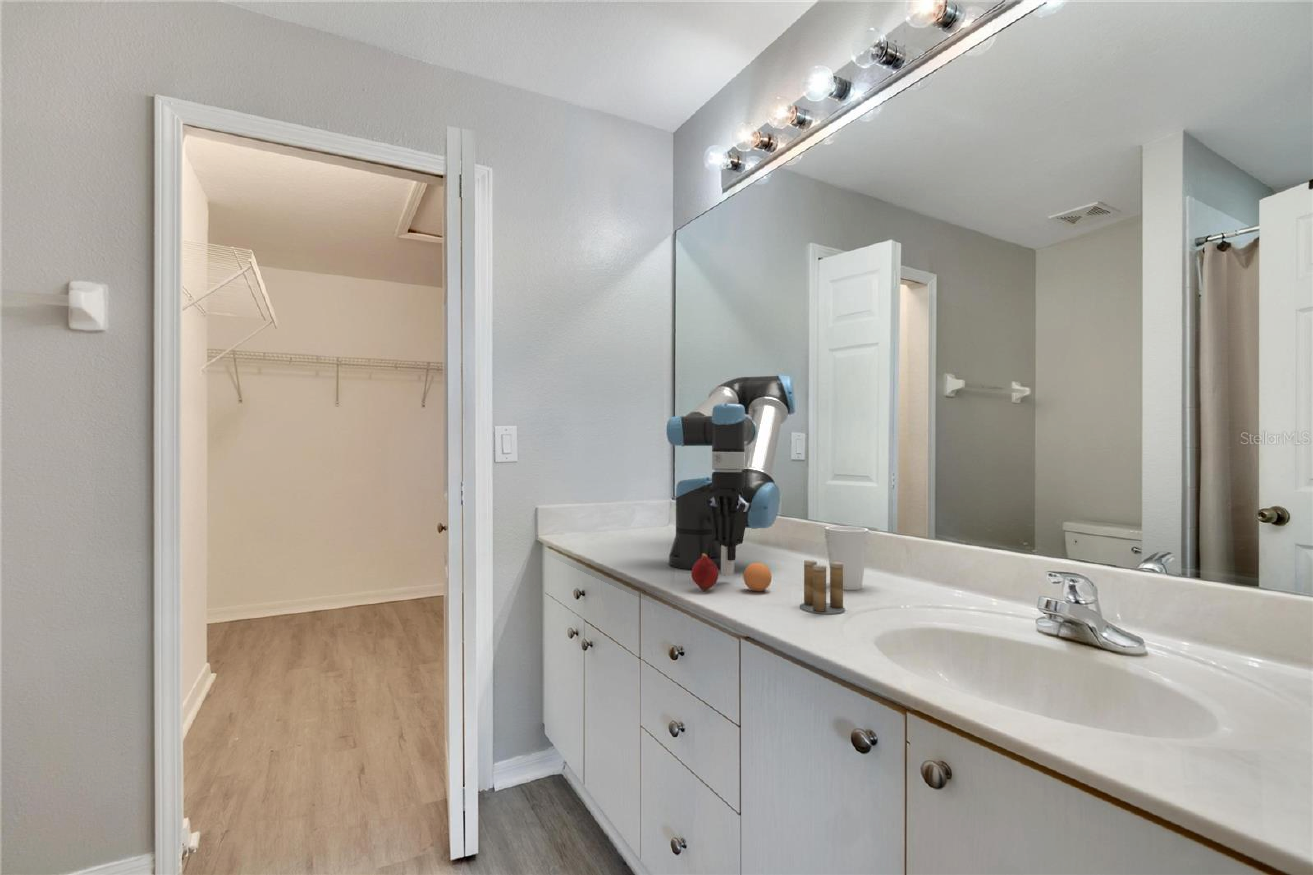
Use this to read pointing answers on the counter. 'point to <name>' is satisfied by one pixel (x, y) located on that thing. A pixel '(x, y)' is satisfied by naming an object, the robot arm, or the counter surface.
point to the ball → (757, 576)
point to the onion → (704, 573)
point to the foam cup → (848, 552)
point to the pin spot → (828, 611)
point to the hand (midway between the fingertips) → (727, 574)
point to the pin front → (808, 581)
